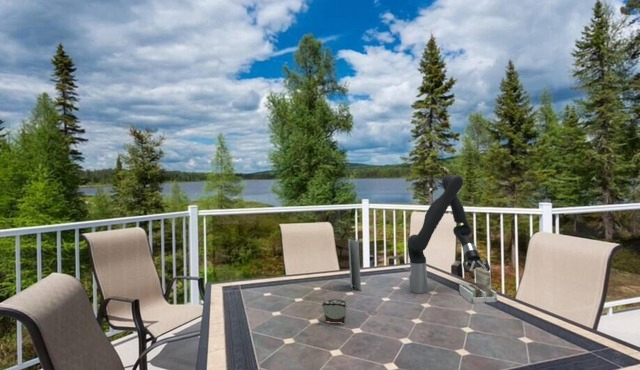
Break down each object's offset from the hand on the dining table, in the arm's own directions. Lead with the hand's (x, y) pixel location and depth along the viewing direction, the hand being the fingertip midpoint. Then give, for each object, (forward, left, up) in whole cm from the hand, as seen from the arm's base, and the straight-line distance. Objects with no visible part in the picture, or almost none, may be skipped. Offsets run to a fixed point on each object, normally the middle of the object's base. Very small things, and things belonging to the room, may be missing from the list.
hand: (480, 277), depth 205 cm
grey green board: (-1, -2, -10) cm, 10 cm away
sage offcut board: (-8, +1, -10) cm, 13 cm away
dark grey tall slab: (-44, +58, -10) cm, 73 cm away
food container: (-84, +17, -10) cm, 87 cm away
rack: (-4, 0, -10) cm, 11 cm away
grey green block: (-6, 0, -10) cm, 12 cm away
